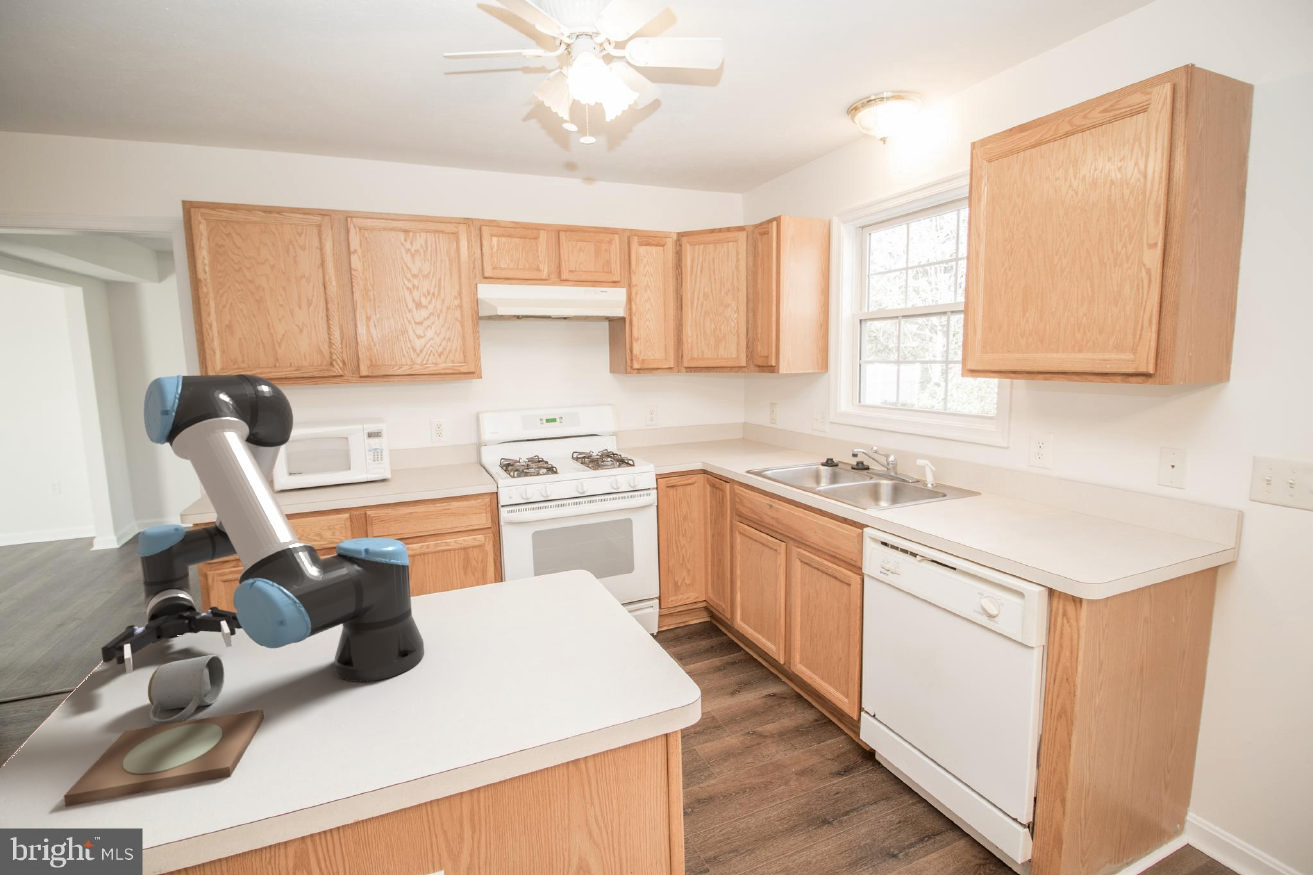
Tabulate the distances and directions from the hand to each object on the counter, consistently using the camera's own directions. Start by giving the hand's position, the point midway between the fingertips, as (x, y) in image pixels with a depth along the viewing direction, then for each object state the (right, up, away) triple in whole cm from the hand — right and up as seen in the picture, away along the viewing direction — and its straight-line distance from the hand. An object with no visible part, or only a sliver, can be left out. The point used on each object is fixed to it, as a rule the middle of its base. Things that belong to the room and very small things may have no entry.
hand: (180, 652), depth 104 cm
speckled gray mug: (+6, -7, -6) cm, 11 cm away
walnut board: (+14, -8, -19) cm, 25 cm away
